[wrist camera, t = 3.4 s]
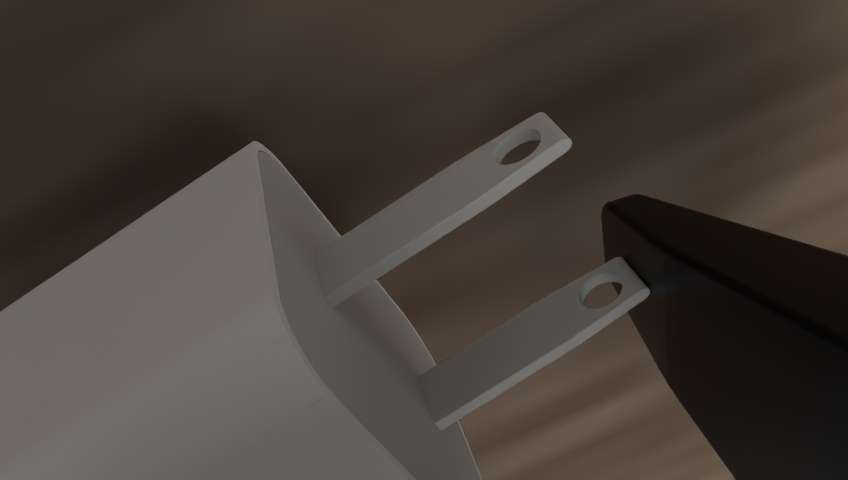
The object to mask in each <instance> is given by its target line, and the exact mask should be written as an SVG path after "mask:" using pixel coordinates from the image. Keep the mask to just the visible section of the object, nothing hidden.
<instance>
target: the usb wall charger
mask: <svg viewBox="0 0 848 480" xmlns="http://www.w3.org/2000/svg"><path fill="white" fill-rule="evenodd" d="M532 140H540V141H541V142H540V144H539V145H538V147H537V148H536V149H535V151H534V152H532V153H531V154H530V155H529V156H527V157H526V158H524V159H523V160H521V161H519V162H516V163H513V164H509V165H501V161H502V159H503V158H504V157H505V155H506V154H507V153H508V152H509V151H510V150H512V149H513V148H515V147H516V146H518V145H520V144H522V143H524V142H527V141H532ZM571 146H572V141H571V139H570V138H569V137H568V136H567V135H566V134H565V133H564V132H563V131H562V130H561V129H560V128H559V127H558V126H557V125H556V124H555V123H554V122H553V121H552V120H551V119H550V118H549V117H548V116H547V115H546V114H545V113H543V112H541V113H537V114H534V115H533V116H531V117H529V118H528V119H526V120H524V121H523V122H521V123H519V124H518V125H516V126H514V127H513V128H511V129H509V130H508V131H506V132H504V133H503V134H501V135H499V136H498V137H496V138H494V139H493V140H491V141H489V142H488V143H486V144H484V145H483V146H481V147H479V148H477V149H476V150H474V151H472V152H471V153H469V154H467V155H466V156H464V157H462V158H461V159H459V160H457V161H456V162H454V163H453V164H451V165H450V166H448V167H447V168H445V169H444V170H442V171H441V172H439V173H438V174H436V175H435V176H433V177H432V178H430V179H428V180H427V181H425V182H424V183H422V184H421V185H419V186H418V187H416V188H415V189H413V190H412V191H410V192H409V193H407V194H406V195H404V196H403V197H401V198H399V199H398V200H396V201H395V202H393V203H392V204H390V205H389V206H387V207H386V208H384V209H383V210H381V211H380V212H378V213H377V214H375V215H374V216H372V217H370V218H369V219H367V220H366V221H364V222H363V223H361V224H360V225H358V226H357V227H355V228H354V229H352V230H351V231H349V232H348V233H346V234H345V235H343V236H341V235H340V234H339V233H338V232H337V230H336V229H335V228H334V227H333V226H332V224H331V223H330V222H329V221H328V219H327V218H326V217H325V216H324V214H323V213H322V212H321V211H320V210H319V208H318V207H317V206H316V205H315V203H314V202H313V201H312V200H311V198H310V197H309V196H308V195H307V194H306V192H305V191H304V190H303V189H302V187H301V186H300V185H299V184H298V182H297V181H296V180H295V179H294V177H293V176H292V175H291V174H290V173H289V171H288V170H287V169H286V168H285V166H284V165H283V164H282V163H281V162H280V161H279V160H278V159H277V157H276V156H275V155H274V154H273V153H272V152H271V151H269V150H268V149H267V148H266V147H265V146H264V145H262V144H261V143H259V142H257V141H253V142H251V143H250V144H248V145H247V146H245V147H244V148H242V149H241V150H239V151H238V152H236V153H235V154H233V155H232V156H230V157H229V158H227V159H226V160H224V161H223V162H221V163H220V164H218V165H217V166H215V167H214V168H212V169H211V170H210V171H208V172H207V173H205V174H204V175H202V176H201V177H199V178H198V179H196V180H195V181H193V182H192V183H190V184H189V185H187V186H186V187H184V188H183V189H181V190H180V191H178V192H177V193H175V194H174V195H172V196H171V197H169V198H168V199H166V200H165V201H163V202H162V203H161V204H159V205H158V206H156V207H155V208H153V209H152V210H150V211H149V212H147V213H146V214H144V215H143V216H141V217H140V218H138V219H137V220H135V221H134V222H132V223H131V224H129V225H128V226H126V227H125V228H123V229H122V230H120V231H119V232H117V233H116V234H115V235H113V236H112V237H110V238H109V239H107V240H106V241H104V242H103V243H101V244H100V245H98V246H97V247H95V248H94V249H92V250H91V251H89V252H88V253H86V254H85V255H83V256H82V257H80V258H79V259H77V260H76V261H74V262H73V263H71V264H70V265H68V266H67V267H66V268H64V269H63V270H61V271H60V272H58V273H57V274H55V275H54V276H52V277H51V278H49V279H48V280H46V281H45V282H43V283H42V284H40V285H39V286H37V287H36V288H34V289H33V290H31V291H30V292H28V293H27V294H25V295H24V296H22V297H21V298H19V299H18V300H17V301H15V302H14V303H12V304H11V305H9V306H8V307H6V308H5V309H3V310H2V311H0V480H483V479H482V477H481V474H480V472H479V469H478V467H477V464H476V462H475V459H474V457H473V454H472V452H471V449H470V447H469V444H468V442H467V439H466V437H465V434H464V432H463V429H462V427H461V424H460V422H459V419H461V418H462V417H464V416H466V415H467V414H469V413H470V412H472V411H474V410H475V409H477V408H478V407H480V406H482V405H483V404H485V403H487V402H488V401H490V400H491V399H493V398H495V397H496V396H498V395H499V394H501V393H503V392H504V391H506V390H508V389H509V388H511V387H512V386H514V385H516V384H517V383H519V382H520V381H522V380H524V379H525V378H527V377H528V376H530V375H532V374H533V373H535V372H537V371H538V370H540V369H541V368H543V367H545V366H546V365H548V364H549V363H551V362H553V361H554V360H556V359H558V358H559V357H561V356H562V355H564V354H566V353H567V352H569V351H570V350H572V349H574V348H575V347H577V346H578V345H580V344H581V343H583V342H584V341H586V340H587V339H588V338H590V337H591V336H593V335H594V334H596V333H597V332H599V331H600V330H601V329H603V328H604V327H606V326H607V325H609V324H610V323H611V322H613V321H614V320H616V319H617V318H619V317H620V316H622V315H623V314H624V313H626V312H627V311H629V310H630V309H632V308H633V307H634V306H636V305H637V304H639V303H640V302H642V301H643V300H644V299H646V298H647V297H648V295H649V294H650V289H649V288H648V287H647V286H646V285H645V283H644V282H643V281H642V280H641V279H640V278H639V276H638V275H637V274H636V273H635V272H634V270H633V269H632V268H631V267H630V266H629V265H628V263H627V262H626V261H625V260H624V259H623V258H622V257H616V258H613V259H612V260H610V261H608V262H606V263H604V264H603V265H601V266H599V267H597V268H595V269H594V270H592V271H590V272H588V273H587V274H585V275H583V276H581V277H579V278H578V279H576V280H574V281H572V282H570V283H569V284H567V285H565V286H563V287H561V288H560V289H558V290H556V291H554V292H552V293H551V294H549V295H547V296H545V297H544V298H542V299H540V300H539V301H537V302H536V303H534V304H532V305H531V306H529V307H528V308H526V309H525V310H523V311H521V312H520V313H518V314H517V315H515V316H513V317H512V318H510V319H509V320H507V321H506V322H504V323H502V324H501V325H499V326H498V327H496V328H494V329H493V330H491V331H490V332H488V333H487V334H485V335H483V336H482V337H480V338H479V339H477V340H475V341H474V342H472V343H471V344H469V345H468V346H466V347H464V348H463V349H461V350H460V351H458V352H456V353H455V354H453V355H452V356H450V357H449V358H447V359H445V360H444V361H442V362H441V363H439V364H437V365H436V364H435V362H434V360H433V358H432V356H431V355H430V353H429V351H428V349H427V348H426V346H425V344H424V343H423V341H422V339H421V338H420V336H419V335H418V333H417V331H416V330H415V328H414V327H413V326H412V324H411V323H410V321H409V320H408V319H407V317H406V316H405V314H404V313H403V312H402V311H401V309H400V308H399V307H398V306H397V304H396V303H395V302H394V301H393V299H392V298H391V297H390V296H389V295H388V293H387V292H386V291H385V290H384V288H383V287H382V286H381V285H380V283H379V282H378V281H377V280H376V279H378V278H379V277H381V276H382V275H384V274H386V273H387V272H389V271H390V270H392V269H393V268H395V267H396V266H398V265H400V264H401V263H403V262H404V261H406V260H407V259H409V258H410V257H412V256H413V255H415V254H417V253H418V252H420V251H421V250H423V249H424V248H426V247H427V246H429V245H431V244H432V243H434V242H435V241H437V240H438V239H440V238H441V237H443V236H445V235H446V234H448V233H449V232H451V231H452V230H454V229H455V228H457V227H458V226H460V225H462V224H463V223H465V222H466V221H468V220H469V219H471V218H472V217H474V216H476V215H477V214H479V213H480V212H482V211H483V210H485V209H486V208H488V207H490V206H491V205H492V204H494V203H495V202H497V201H498V200H499V199H501V198H502V197H504V196H505V195H507V194H508V193H509V192H511V191H512V190H514V189H515V188H516V187H518V186H519V185H521V184H522V183H524V182H525V181H526V180H528V179H529V178H531V177H532V176H533V175H535V174H536V173H538V172H539V171H541V170H542V169H543V168H545V167H546V166H548V165H549V164H550V163H552V162H553V161H555V160H556V159H558V158H559V157H560V156H562V155H563V154H565V153H566V152H567V151H568V150H569V149H570V148H571ZM605 282H618V283H620V284H622V290H621V293H620V294H619V296H618V297H617V298H616V299H615V300H614V301H613V302H612V303H610V304H608V305H606V306H604V307H601V308H588V307H585V306H584V300H585V297H586V295H587V294H588V293H589V292H590V291H591V290H592V289H593V288H594V287H596V286H597V285H599V284H602V283H605Z"/></svg>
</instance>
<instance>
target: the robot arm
mask: <svg viewBox="0 0 848 480" xmlns="http://www.w3.org/2000/svg"><path fill="white" fill-rule="evenodd" d="M601 220H602V231H603V243H604V255H605V263H606V262H608V261H610V260H612V259H613V258H616V257H622V258H623V259H624V260H625V261H626V262H627V263H628V265H629V266H630V267H631V268H632V269H633V270H634V272H635V273H636V274H637V275H638V276H639V278H640V279H641V280H642V281H643V282H644V283H645V285H646V286H647V287H648V288H649V289H650V294H649V295H648V297H647V298H646V299H644V300H643V301H642V302H640V303H639V304H637V305H636V306H634V307H633V308H632V309H630V310H629V311H627V312H628V313H629V315H630V317H631V319H632V321H633V323H634V324H635V326H636V328H637V330H638V332H639V333H640V335H641V337H642V339H643V341H644V343H645V344H646V346H647V348H648V350H649V352H650V353H651V355H652V357H653V359H654V361H655V363H656V364H657V366H658V368H659V370H660V371H661V373H662V375H663V377H664V378H665V380H666V382H667V383H668V385H669V386H670V388H671V389H672V391H673V392H674V394H675V395H676V397H677V398H678V400H679V401H680V403H681V404H682V405H683V407H684V408H685V410H686V411H687V412H688V414H689V415H690V417H691V418H692V419H693V421H694V422H695V424H696V425H697V426H698V428H699V429H700V430H701V432H702V433H703V435H704V436H705V437H706V439H707V440H708V442H709V443H710V444H711V446H712V447H713V449H714V450H715V451H716V453H717V454H718V455H719V457H720V458H721V460H722V461H723V462H724V464H725V465H726V467H727V468H728V469H729V471H730V472H731V474H732V475H733V476H734V478H735V479H736V480H848V256H846V255H843V254H840V253H836V252H833V251H830V250H826V249H823V248H819V247H816V246H813V245H809V244H806V243H802V242H799V241H796V240H792V239H789V238H786V237H782V236H779V235H775V234H772V233H769V232H765V231H762V230H759V229H755V228H752V227H748V226H745V225H742V224H738V223H735V222H732V221H728V220H725V219H721V218H718V217H715V216H711V215H708V214H704V213H701V212H698V211H694V210H691V209H688V208H684V207H681V206H677V205H674V204H671V203H667V202H664V201H661V200H657V199H654V198H650V197H647V196H644V195H640V194H633V195H630V196H626V197H623V198H620V199H617V200H614V201H610V202H608V203H606V204H605V205H604V207H603V208H602V214H601ZM612 284H613V286H614V288H615V290H616V292H617V293H618V295H619V294H620V293H621V290H622V284H620V283H618V282H612Z"/></svg>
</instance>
